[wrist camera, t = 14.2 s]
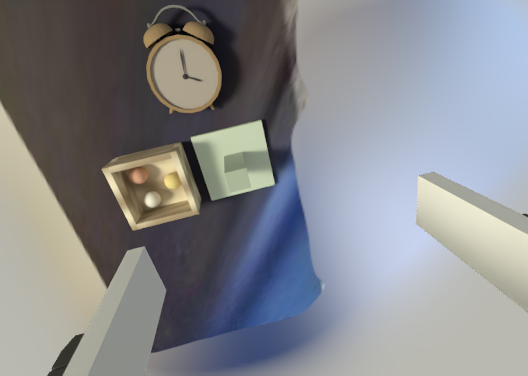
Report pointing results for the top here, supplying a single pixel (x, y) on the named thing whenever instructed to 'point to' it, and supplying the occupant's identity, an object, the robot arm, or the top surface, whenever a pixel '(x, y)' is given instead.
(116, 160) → the box
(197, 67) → the alarm clock
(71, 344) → the robot arm
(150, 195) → the ball cream
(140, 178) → the ball terracotta
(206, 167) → the lid
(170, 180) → the ball mustard
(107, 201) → the top surface
